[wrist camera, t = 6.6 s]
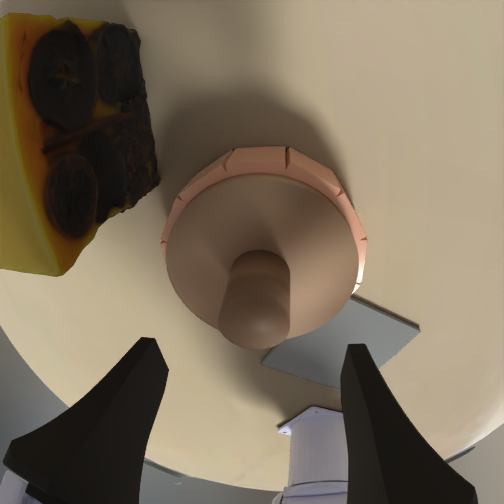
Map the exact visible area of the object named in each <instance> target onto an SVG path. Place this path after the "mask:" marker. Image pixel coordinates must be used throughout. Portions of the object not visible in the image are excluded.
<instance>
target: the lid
mask: <svg viewBox="0 0 504 504" xmlns="http://www.w3.org/2000/svg"><path fill="white" fill-rule="evenodd" d="M166 265H167V271H168V275H169V279H170V281H171V283H172V286H173V288H174V290H175V291H176V293H177V295H178V296H179V298H180V299H181V300H182V302H183V303H184V304H185V305H186V307H187V308H188V309H189V310H190V311H191V312H192V313H194V314H195V315H196V316H197V317H198V318H200V319H201V320H203V321H204V322H206V323H207V324H209V325H210V326H212V327H214V328H216V329H218V330H220V331H221V333H222V334H223V336H224V337H225V338H226V339H228V340H229V341H230V342H232V343H234V344H236V345H238V346H240V347H244V348H248V349H267V348H271V347H274V346H276V345H278V344H280V343H281V342H282V341H284V340H285V339H288V338H293V337H297V336H300V335H303V334H306V333H308V332H311V331H313V330H315V329H317V328H319V327H321V326H322V325H324V324H325V323H327V322H328V321H330V320H331V319H332V318H333V317H334V316H336V315H337V314H338V313H339V312H340V310H341V309H342V308H343V307H344V306H345V304H346V303H347V301H348V300H349V299H350V297H351V295H352V293H353V291H354V288H355V285H356V282H357V278H358V272H359V255H358V249H357V245H356V242H355V239H354V236H353V234H352V231H351V229H350V226H349V224H348V222H347V220H346V219H345V217H344V215H343V214H342V213H341V211H340V210H339V208H338V207H337V206H336V205H335V204H334V203H333V202H332V201H331V200H330V199H329V198H328V197H327V196H325V195H324V194H323V193H321V192H320V191H319V190H317V189H316V188H314V187H312V186H310V185H308V184H307V183H305V182H302V181H299V180H297V179H294V178H291V177H287V176H283V175H279V174H270V173H248V174H242V175H236V176H232V177H229V178H226V179H223V180H221V181H218V182H216V183H214V184H212V185H210V186H209V187H207V188H206V189H204V190H203V191H201V192H200V193H199V194H197V195H196V196H195V197H194V198H193V199H192V200H191V201H190V202H189V203H188V205H187V206H186V207H185V208H184V210H183V211H182V212H181V214H180V215H179V217H178V218H177V220H176V222H175V223H174V225H173V227H172V229H171V232H170V234H169V237H168V241H167V246H166Z"/></svg>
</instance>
